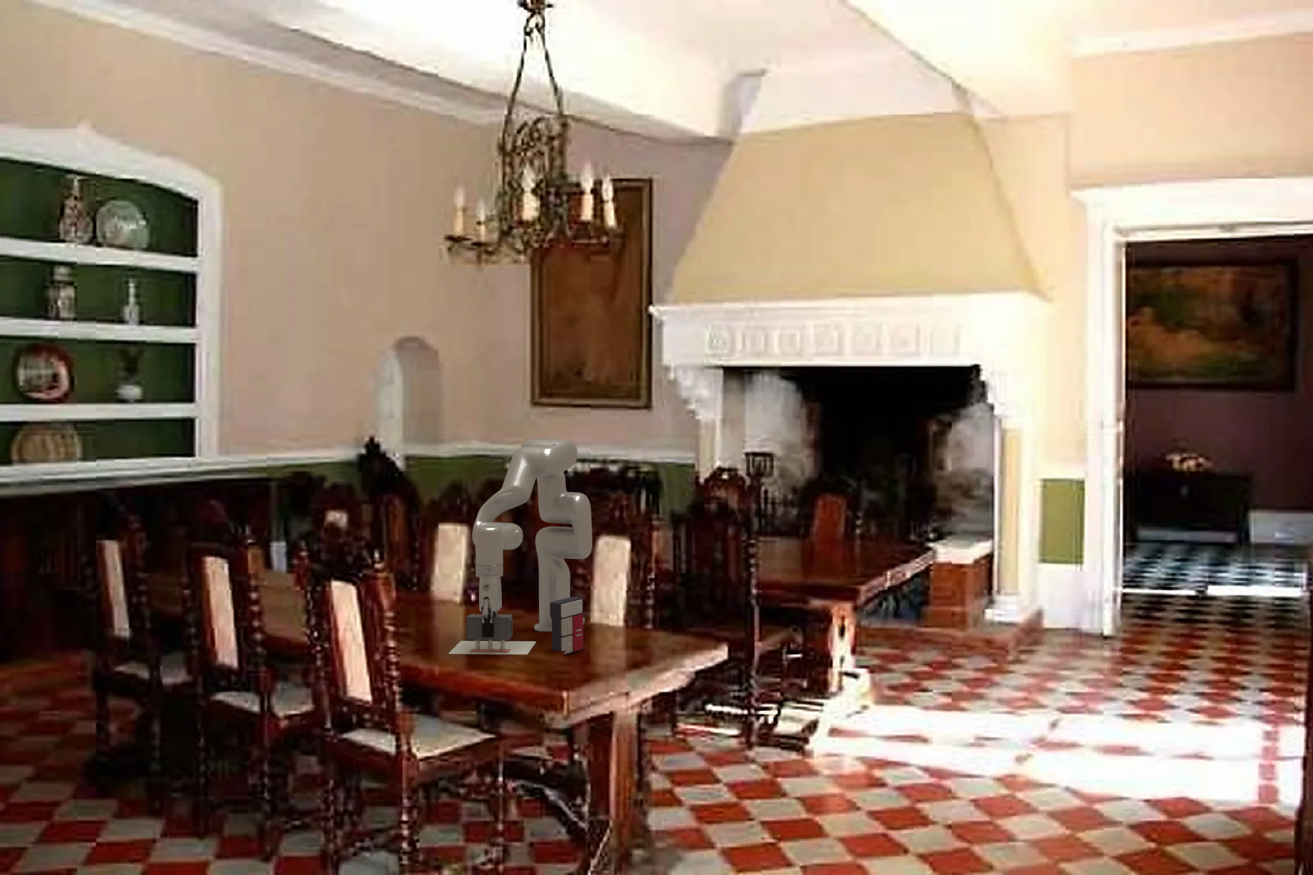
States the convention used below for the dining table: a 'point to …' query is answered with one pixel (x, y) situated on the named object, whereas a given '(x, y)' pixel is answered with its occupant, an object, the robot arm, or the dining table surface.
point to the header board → (492, 647)
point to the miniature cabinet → (567, 624)
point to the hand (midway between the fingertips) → (489, 634)
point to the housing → (500, 627)
